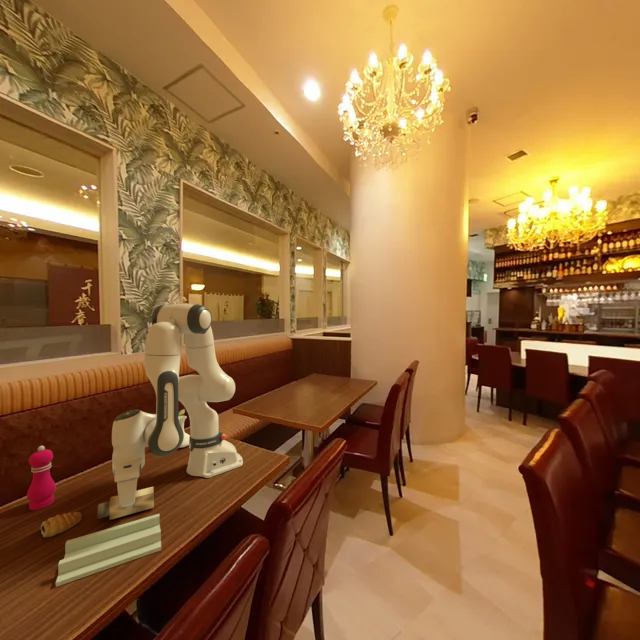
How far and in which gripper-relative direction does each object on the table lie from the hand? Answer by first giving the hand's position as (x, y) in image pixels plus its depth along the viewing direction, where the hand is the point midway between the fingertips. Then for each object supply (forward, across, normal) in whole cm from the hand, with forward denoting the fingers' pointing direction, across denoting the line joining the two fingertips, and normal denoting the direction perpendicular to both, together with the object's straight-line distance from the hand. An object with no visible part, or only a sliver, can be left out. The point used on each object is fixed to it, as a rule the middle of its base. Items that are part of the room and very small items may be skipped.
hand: (129, 504), depth 97 cm
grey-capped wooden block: (+2, 0, -1) cm, 2 cm away
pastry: (+3, -2, -18) cm, 19 cm away
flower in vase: (+4, -48, +18) cm, 51 cm away
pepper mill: (+3, -20, -26) cm, 33 cm away
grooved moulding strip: (+3, +16, -3) cm, 16 cm away
